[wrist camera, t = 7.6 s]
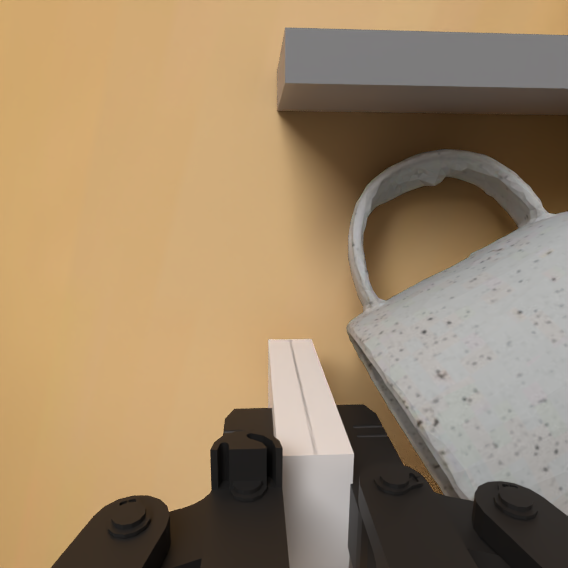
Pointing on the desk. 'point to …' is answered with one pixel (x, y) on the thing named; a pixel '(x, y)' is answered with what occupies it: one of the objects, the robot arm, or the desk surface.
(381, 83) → the grey c-shaped bracket
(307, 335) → the desk surface
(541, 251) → the ceramic mug
